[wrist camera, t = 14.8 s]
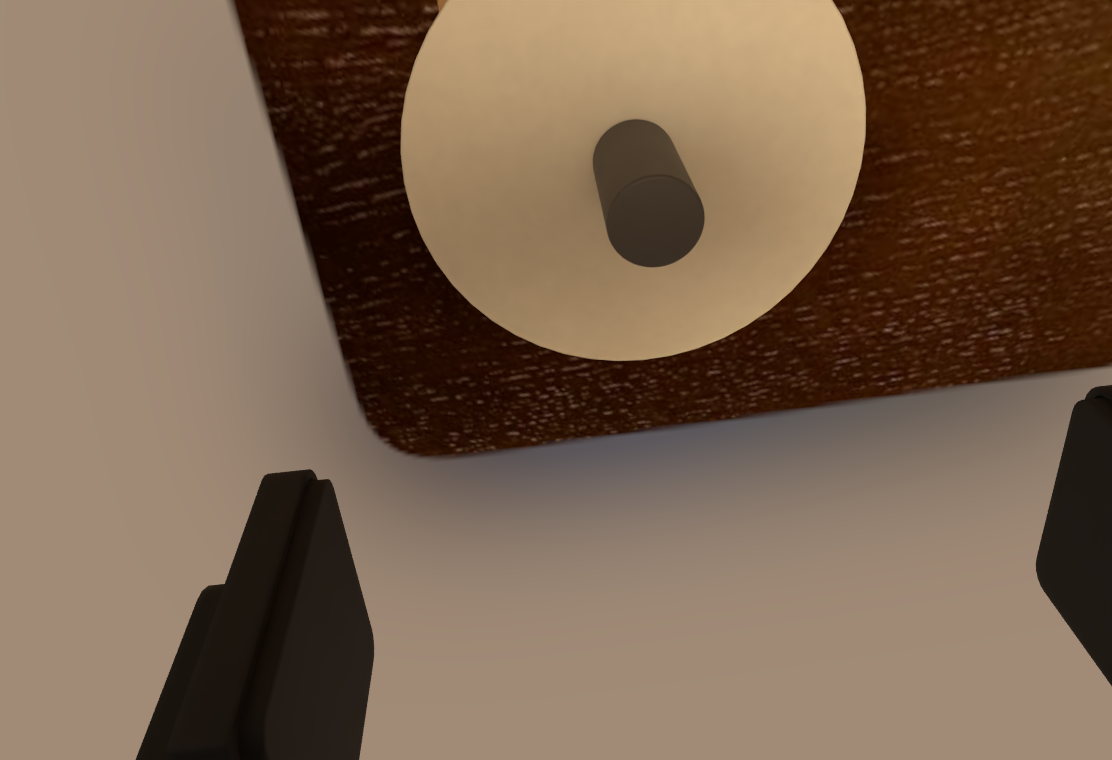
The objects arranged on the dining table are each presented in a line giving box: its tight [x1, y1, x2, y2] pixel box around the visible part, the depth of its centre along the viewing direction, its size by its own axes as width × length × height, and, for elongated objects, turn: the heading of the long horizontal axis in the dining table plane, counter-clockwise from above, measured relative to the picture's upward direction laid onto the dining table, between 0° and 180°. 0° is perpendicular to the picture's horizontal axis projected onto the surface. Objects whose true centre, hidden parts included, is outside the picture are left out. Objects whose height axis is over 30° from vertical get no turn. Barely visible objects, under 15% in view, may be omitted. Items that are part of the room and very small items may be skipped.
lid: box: [401, 0, 866, 361], centre depth 25 cm, size 13×13×6 cm
